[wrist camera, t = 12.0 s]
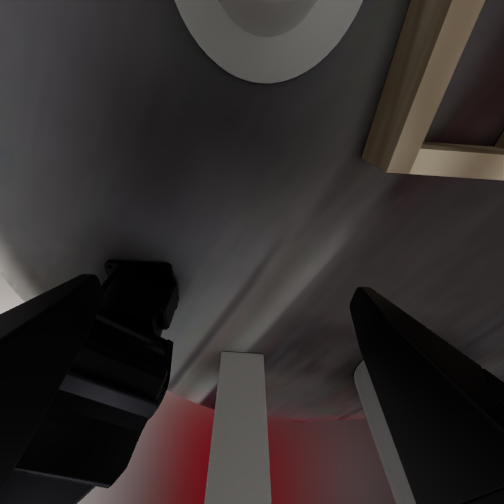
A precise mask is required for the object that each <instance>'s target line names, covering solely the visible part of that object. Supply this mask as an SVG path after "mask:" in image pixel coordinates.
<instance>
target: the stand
mask: <svg viewBox="0 0 504 504" xmlns="http://www.w3.org/2000/svg"><path fill="white" fill-rule="evenodd" d="M484 2H485V0H411V1H410V5H409V8H408V11H407V14H406V17H405V21H404V24H403V27H402V30H401V33H400V36H399V40H398V43H397V46H396V49H395V52H394V56H393V59H392V62H391V65H390V68H389V72H388V75H387V78H386V81H385V84H384V88H383V91H382V94H381V97H380V100H379V104H378V107H377V110H376V113H375V116H374V119H373V123H372V126H371V129H370V132H369V135H368V139H367V142H366V145H365V148H364V151H363V155H362V158H361V159H363V160H365V161H367V162H369V163H370V164H372V165H374V166H376V167H378V168H379V169H381V170H383V171H385V172H389V173H404V174H418V175H433V176H448V177H462V178H477V179H492V180H504V131H503V133H502V134H501V136H500V138H499V139H498V141H497V143H496V144H495V146H494V147H490V146H477V145H464V144H450V143H437V142H423V141H424V139H425V136H426V134H427V132H428V130H429V127H430V125H431V123H432V121H433V118H434V116H435V114H436V111H437V109H438V107H439V105H440V102H441V100H442V98H443V95H444V93H445V91H446V89H447V86H448V84H449V82H450V79H451V77H452V75H453V73H454V70H455V68H456V66H457V63H458V61H459V59H460V57H461V54H462V52H463V50H464V47H465V45H466V43H467V41H468V38H469V36H470V34H471V31H472V29H473V27H474V25H475V22H476V20H477V18H478V15H479V13H480V11H481V9H482V6H483V4H484Z"/></svg>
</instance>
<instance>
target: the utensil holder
mask: <svg viewBox="0 0 504 504" xmlns="http://www.w3.org/2000/svg"><path fill="white" fill-rule="evenodd" d="M354 381H355V384H356V388H357V391H358V394H359V397H360V400H361V403H362V406H363V409H364V412H365V415H366V418H367V421H368V424H369V427H370V430H371V433H372V436H373V438H374V441H375V444H376V447H377V450H378V453H379V456H380V458H381V462H382V464H383V467H384V470H385V473H386V476H387V479H388V481H389V484H390V487H391V490H392V493H393V496H394V498H395V501H396V504H416V502H415V500H414V497H413V494H412V491H411V489H410V486H409V483H408V480H407V478H406V475H405V472H404V469H403V467H402V464H401V461H400V458H399V456H398V453H397V450H396V447H395V445H394V442H393V439H392V436H391V434H390V431H389V428H388V425H387V423H386V420H385V417H384V414H383V412H382V409H381V406H380V403H379V401H378V398H377V395H376V392H375V390H374V387H373V384H372V381H371V379H370V376H369V373H368V370H367V368H366V365H365V362H364V360H363V361H362V362H361V363H360V364H359V365H358V367H357V368H356V370H355V373H354Z"/></svg>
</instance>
